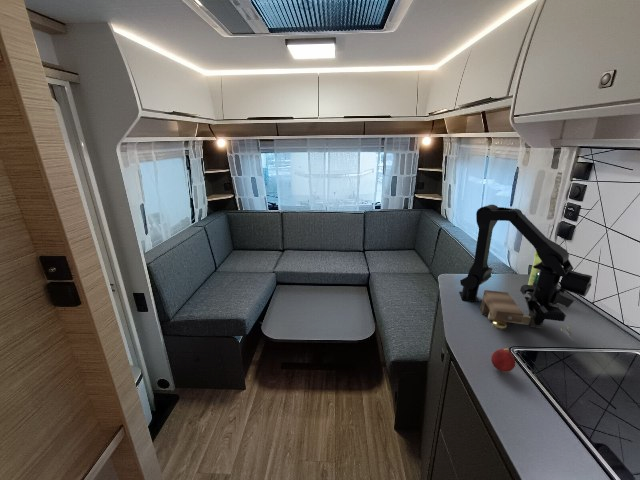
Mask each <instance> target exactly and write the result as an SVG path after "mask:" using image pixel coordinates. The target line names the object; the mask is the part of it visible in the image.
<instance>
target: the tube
mask: <svg viewBox="0 0 640 480" xmlns="http://www.w3.org/2000/svg"><path fill="white" fill-rule="evenodd" d="M540 262H542V261H541V259H540V258H539V256H538V255H537V252H536V251H535V254H534V259H533V263H532V267H531V269H530V275H529V280H528V283H527V285H533V282H534V279H535V275H536V273H537V272H538V270H539V269H536V268H533V266H534V265H536V264H538V263H540Z"/></svg>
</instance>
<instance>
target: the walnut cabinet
mask: <svg viewBox="0 0 640 480" xmlns="http://www.w3.org/2000/svg"><path fill="white" fill-rule="evenodd" d="M479 311H480V313H481V315H484V316H488V315H489V311H490V312H491V314H492V315H493V317H494V319H495V320H502V321H510V322H509V323H511V322H519V323H521V321H522V318H523V315H524V316H525V314H524V312H523V311H522V310H521V308H520V307H519V305H518V304H517V303H516V302H515V300H514V298H512V296H511V295H510V294H509V292H508V291H507V292H506V291H498V290H497V291H496V290H488V289H487V290H485V289H484V291H483V296H482V300H481V304H480V308H479ZM519 323H518V324H519Z"/></svg>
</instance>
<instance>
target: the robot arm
mask: <svg viewBox="0 0 640 480" xmlns="http://www.w3.org/2000/svg"><path fill="white" fill-rule="evenodd" d="M475 216H476V217H475V219H476V220H475V221H476V224H477V227H478V232H477V238H476V239H477V240H476V245H475V246H476V247H475V253H474V259H473V264H472V265H471V267H470V268H469V270H468V273H467V276H465V277H463V278H461V279H460V280H459V281H460V282H459V283H460V286H462V290H461V291H458V294H459V296H460V298H461V300H462V301H466V302H474V303H479V302H480V300H479V298H478V294H479V293H478V292H479V289H480V288H479V287H480V285H482V284H484V283H485V282H487V281H488V280H490V278H491V277H492V271H493V268H492V267H489V264H488V260H489V253H490V248H491V241H492V235H493V230H494V227H495V226H496V225H497V223H498V221H499V222H500V221H504V222H505V221H506V222H507V221H508V222H510V223H511V225H513V227H514V228H515V229H516V230H517V231H519V233H520V234H521V235H522V236H523V237H524V238H525V239H526V240H527V241H528V242H529V244H530V245H531V246H533V248H534V249H535V253H536V252H537V255H538V256H539V258H540V259H541V261H542V262H540V263H538V264H536V265H534V266H533V265H532V266H533V268H536V269H539V270H540V272H539V275H538V279H537V282H533V285H528V284H522V285H521V287H520V289H519V291H520V293H521V294H522V295H527V296H525V297H524V300H525V302H526V303H525V304H526V306H527V308H528V313H529V312H530V310H534V319H535V324H536V325H540V324H541V323H542V322H543V321H545V320H548V321H558V322H564V321H565V320H566V318H567V314H566V313H565V312H564V311H563V310H562V309H561V308H560V307H559V306H554V305H558V304H559V305H562V306H565V308H567V309H568V308H570V307H571V305H573V303H574V302H575V300H576V299H574V298H573V297H571V296H570V294H568V293H567V292H570V293H573V294H574V295H578V296H581V297H583V298H585V297H586V296H587V294H588V293H589V291H590V289H591V286H592V280H593V279H592V278H593V276H592V275H589V274H586V273H582V272H578V271H574V267H573V265H572V263H571V261H570V259H569V258H570V254H569V252H568V251H567V249H565V247H563V246H561V245H560V244H558V243H556V242H554V241H552V240H551V239H549V238H548V237H547V236H545V235H544V234H543V232H542V231H540V230H539V228H538V227H537V226H536V225H535V224H534V223H533V222H532V221H530V219H529V218H527V217H526V215H525V214H523V212H522V210H521V209H518V208H509V207H503V206H500V207H499V206H498V205H495V204H488V205H485V206H481V207H480V208H478V209H477V211H476V213H475ZM565 291H567V292H565ZM543 323H544V322H543Z"/></svg>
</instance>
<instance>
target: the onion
mask: <svg viewBox="0 0 640 480" xmlns="http://www.w3.org/2000/svg"><path fill="white" fill-rule="evenodd" d="M490 362H491V363H492V365H493V367H494V368H495V369H496V370H498V371H499V372H501V373H502V372H505V373H507V372H511V371H513V370H514V368H515V367H516V359H515V357H514V355H513V354H512V353H511V352H510V349H509V348H500V349H497V350H495V351H494V352H493V353H492V354H491V361H490Z"/></svg>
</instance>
